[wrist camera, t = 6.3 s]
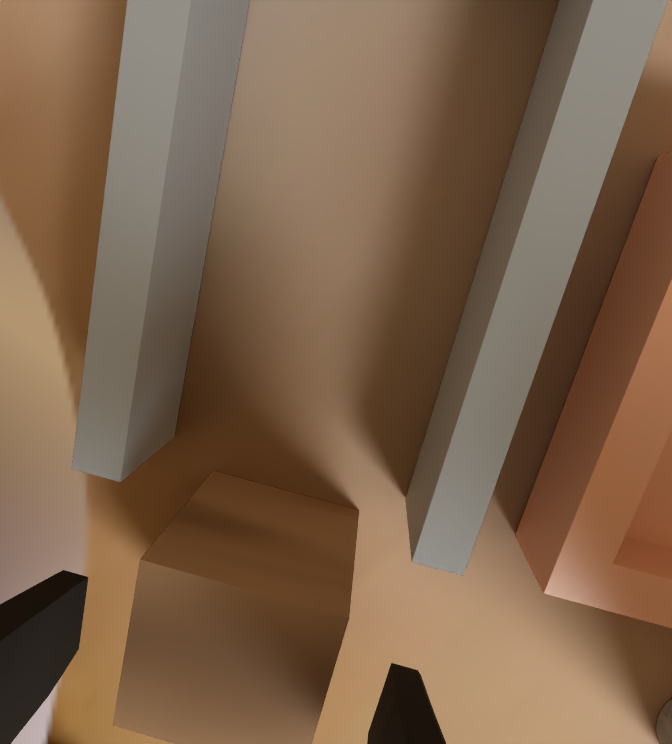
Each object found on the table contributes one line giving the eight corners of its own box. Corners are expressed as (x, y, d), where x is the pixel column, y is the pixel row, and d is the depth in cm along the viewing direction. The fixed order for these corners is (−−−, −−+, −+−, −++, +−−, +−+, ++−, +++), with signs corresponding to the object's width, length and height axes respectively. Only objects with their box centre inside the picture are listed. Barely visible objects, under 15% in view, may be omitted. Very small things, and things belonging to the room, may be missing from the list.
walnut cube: (324, 632, 15) (300, 780, 11) (188, 594, 15) (112, 725, 11) (358, 509, 14) (349, 617, 10) (213, 469, 14) (139, 559, 10)
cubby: (445, 510, 14) (463, 576, 11) (135, 426, 14) (71, 468, 11) (644, -86, 10) (746, -223, 7) (226, -177, 11) (168, -343, 8)
